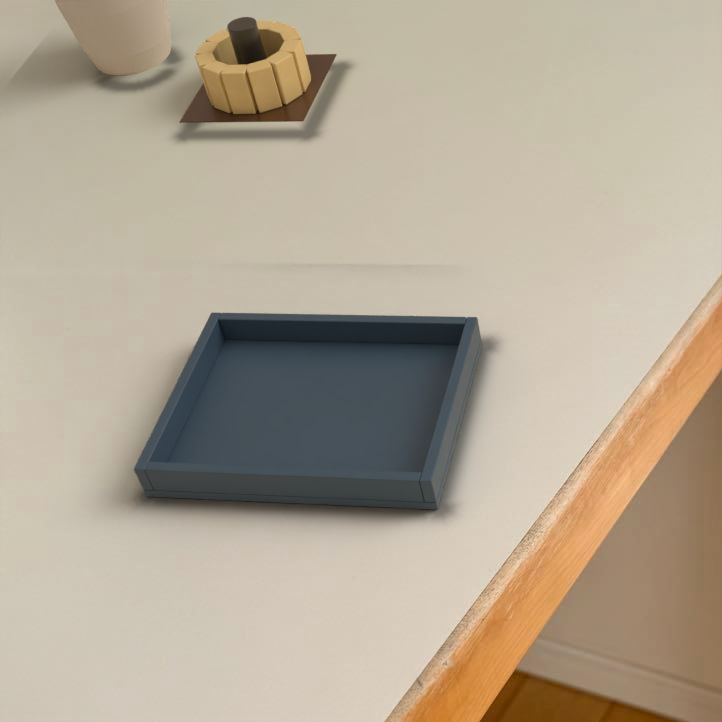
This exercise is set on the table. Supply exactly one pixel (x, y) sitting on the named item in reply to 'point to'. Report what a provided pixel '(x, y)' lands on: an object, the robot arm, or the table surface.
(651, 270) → the table surface
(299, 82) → the bracelet
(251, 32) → the peg stand
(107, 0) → the cup
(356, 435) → the tray
